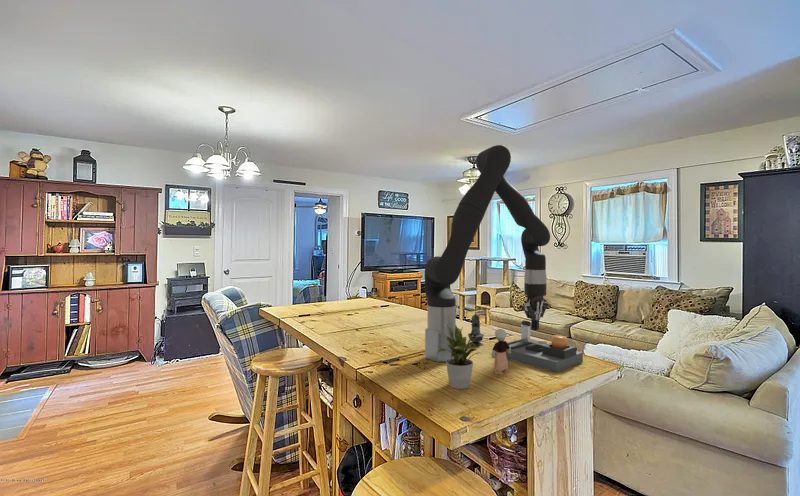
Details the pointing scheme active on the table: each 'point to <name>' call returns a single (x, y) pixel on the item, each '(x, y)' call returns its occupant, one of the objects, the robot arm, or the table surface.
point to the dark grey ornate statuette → (476, 328)
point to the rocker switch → (537, 341)
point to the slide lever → (525, 331)
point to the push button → (559, 341)
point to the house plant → (459, 359)
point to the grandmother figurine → (500, 352)
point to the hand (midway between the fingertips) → (535, 330)
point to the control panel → (544, 355)
